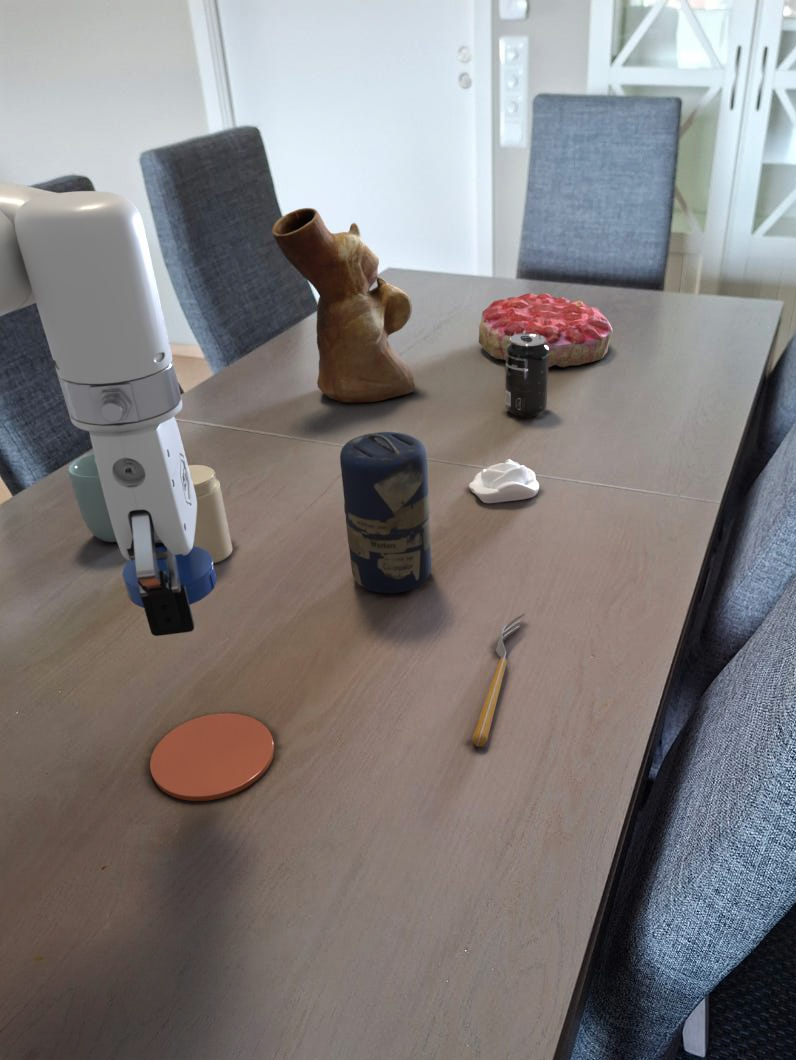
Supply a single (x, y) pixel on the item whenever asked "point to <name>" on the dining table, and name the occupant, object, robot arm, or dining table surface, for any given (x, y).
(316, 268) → the ceramic vessel
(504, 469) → the rose
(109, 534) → the cup
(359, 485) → the canister
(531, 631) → the dining table surface
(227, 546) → the jam jar
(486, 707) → the fork
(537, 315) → the cake
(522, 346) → the beverage can
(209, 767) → the coaster
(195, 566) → the jam lid
